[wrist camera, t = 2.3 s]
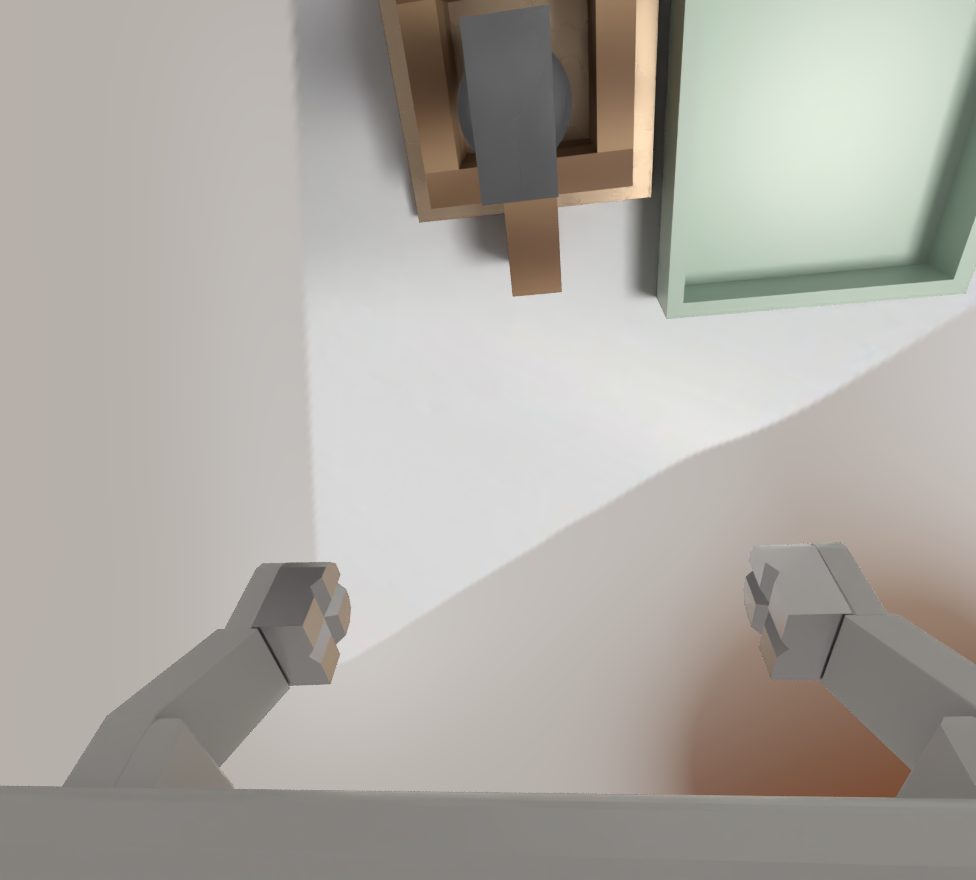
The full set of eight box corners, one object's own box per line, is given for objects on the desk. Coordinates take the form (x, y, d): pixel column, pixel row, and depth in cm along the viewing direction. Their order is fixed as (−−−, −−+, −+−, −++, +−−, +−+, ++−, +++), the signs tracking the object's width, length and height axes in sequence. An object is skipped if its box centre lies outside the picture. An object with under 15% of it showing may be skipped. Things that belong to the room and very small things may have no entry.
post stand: (370, -73, 25) (173, -198, 11) (659, -125, 23) (833, -337, 10) (422, 217, 31) (339, 357, 18) (648, 192, 30) (741, 324, 17)
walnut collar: (407, -36, 24) (388, -47, 21) (623, -73, 23) (638, -89, 20) (455, 274, 32) (447, 302, 29) (620, 258, 31) (630, 285, 28)
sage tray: (680, -193, 22) (698, -220, 20) (1109, -274, 20) (1188, -315, 18) (656, 297, 33) (666, 318, 31) (932, 272, 31) (965, 293, 29)
